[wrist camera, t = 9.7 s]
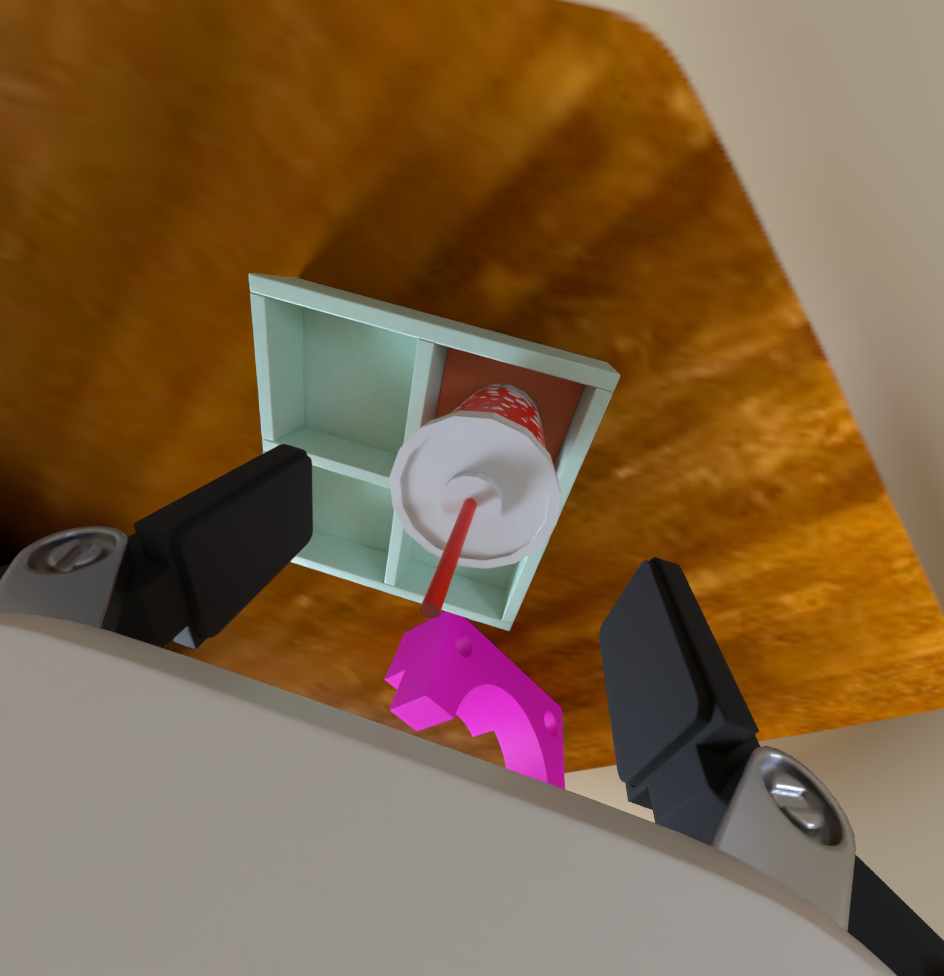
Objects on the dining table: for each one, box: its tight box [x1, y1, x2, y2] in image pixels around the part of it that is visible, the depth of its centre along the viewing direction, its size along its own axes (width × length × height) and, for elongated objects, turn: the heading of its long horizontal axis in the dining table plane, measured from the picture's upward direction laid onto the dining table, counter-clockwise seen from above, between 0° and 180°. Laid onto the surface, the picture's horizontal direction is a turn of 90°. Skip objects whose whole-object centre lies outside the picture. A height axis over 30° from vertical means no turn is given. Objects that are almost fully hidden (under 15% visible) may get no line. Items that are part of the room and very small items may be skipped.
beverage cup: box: [389, 384, 561, 618], centre depth 14 cm, size 6×6×14 cm
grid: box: [249, 273, 620, 631], centre depth 21 cm, size 18×18×4 cm
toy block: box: [385, 611, 565, 789], centre depth 29 cm, size 15×6×8 cm, turn 42°
